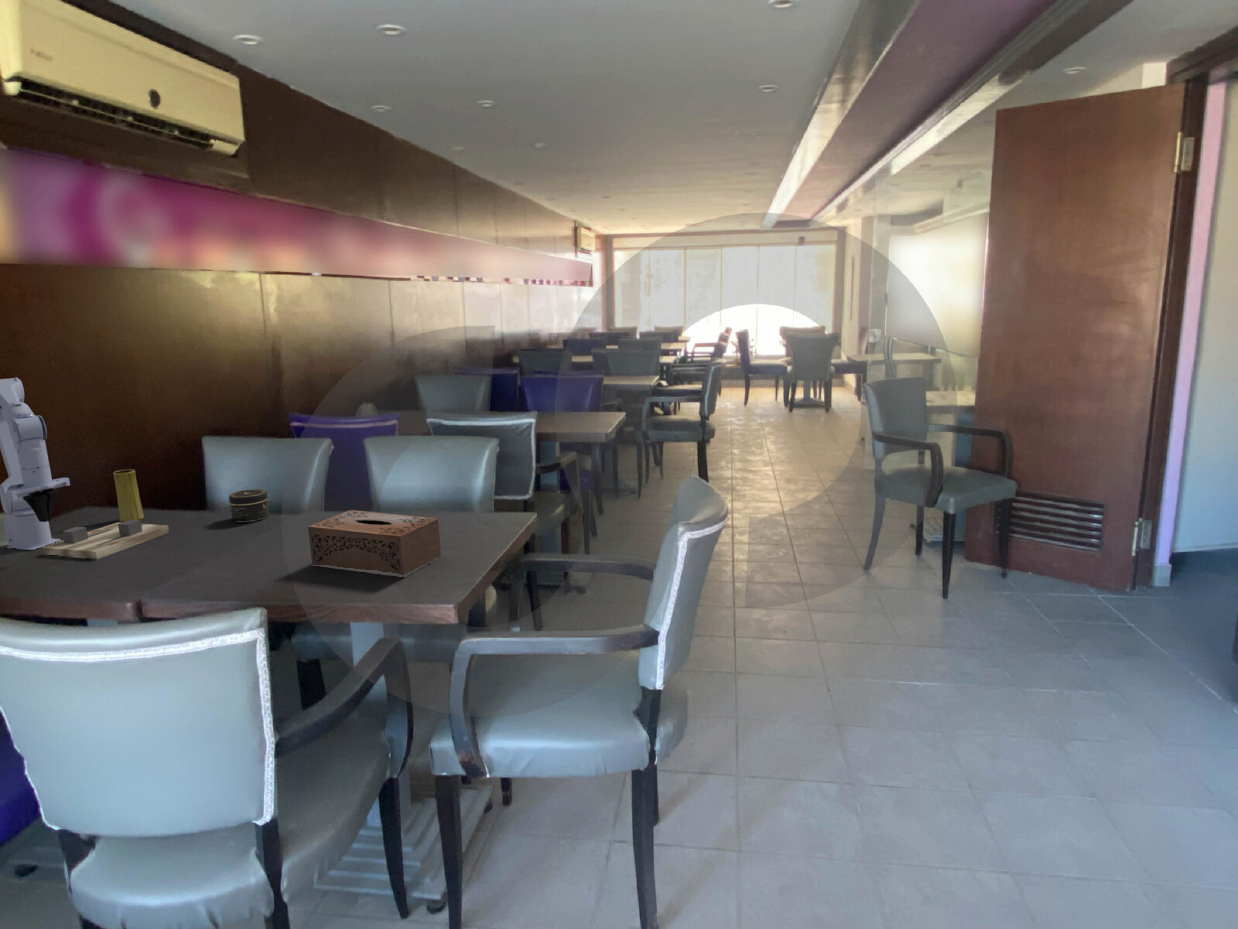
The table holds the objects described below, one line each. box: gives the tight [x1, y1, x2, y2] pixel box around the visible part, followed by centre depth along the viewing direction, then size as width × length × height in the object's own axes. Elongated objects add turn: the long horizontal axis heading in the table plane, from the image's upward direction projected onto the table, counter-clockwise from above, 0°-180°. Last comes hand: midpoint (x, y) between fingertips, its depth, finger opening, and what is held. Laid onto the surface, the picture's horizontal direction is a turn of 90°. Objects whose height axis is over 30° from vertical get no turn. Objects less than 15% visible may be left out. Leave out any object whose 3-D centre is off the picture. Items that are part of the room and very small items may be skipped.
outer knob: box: [118, 519, 142, 536], centre depth 205 cm, size 3×4×3 cm
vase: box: [113, 468, 145, 523], centre depth 225 cm, size 6×6×14 cm
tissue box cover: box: [307, 509, 442, 575], centre depth 184 cm, size 26×14×10 cm, turn 69°
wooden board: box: [41, 521, 170, 560], centre depth 204 cm, size 17×22×2 cm
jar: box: [228, 488, 270, 522], centre depth 223 cm, size 10×10×8 cm
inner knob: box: [61, 526, 88, 543], centre depth 200 cm, size 3×4×3 cm
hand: (45, 520), depth 192 cm, fingers closed
